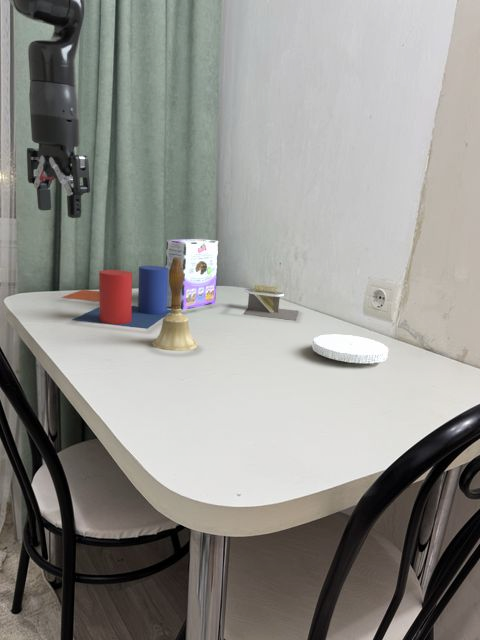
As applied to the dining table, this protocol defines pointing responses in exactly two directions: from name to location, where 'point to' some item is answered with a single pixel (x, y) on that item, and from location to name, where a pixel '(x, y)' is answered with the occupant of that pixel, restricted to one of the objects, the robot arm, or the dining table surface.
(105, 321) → the red cylinder
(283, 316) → the platform
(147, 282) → the blue cylinder
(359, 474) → the dining table surface
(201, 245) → the candy box
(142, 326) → the blue mat
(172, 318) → the hand bell
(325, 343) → the plastic lid
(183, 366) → the dining table surface
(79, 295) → the red mat
